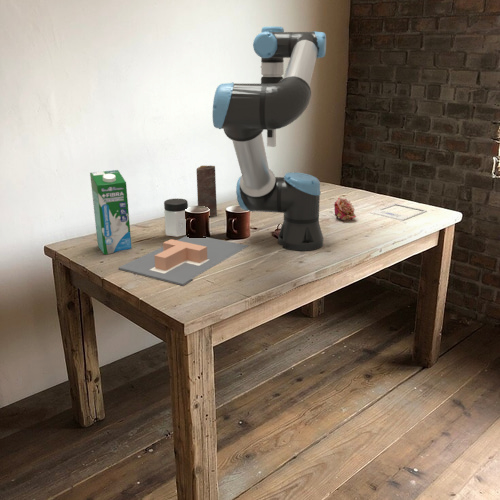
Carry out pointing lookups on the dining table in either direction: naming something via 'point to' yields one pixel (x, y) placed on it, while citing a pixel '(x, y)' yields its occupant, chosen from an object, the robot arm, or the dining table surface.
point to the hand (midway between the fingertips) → (271, 146)
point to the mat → (186, 269)
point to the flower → (344, 209)
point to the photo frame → (394, 215)
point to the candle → (207, 188)
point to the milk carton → (111, 211)
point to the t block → (179, 254)
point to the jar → (175, 217)
